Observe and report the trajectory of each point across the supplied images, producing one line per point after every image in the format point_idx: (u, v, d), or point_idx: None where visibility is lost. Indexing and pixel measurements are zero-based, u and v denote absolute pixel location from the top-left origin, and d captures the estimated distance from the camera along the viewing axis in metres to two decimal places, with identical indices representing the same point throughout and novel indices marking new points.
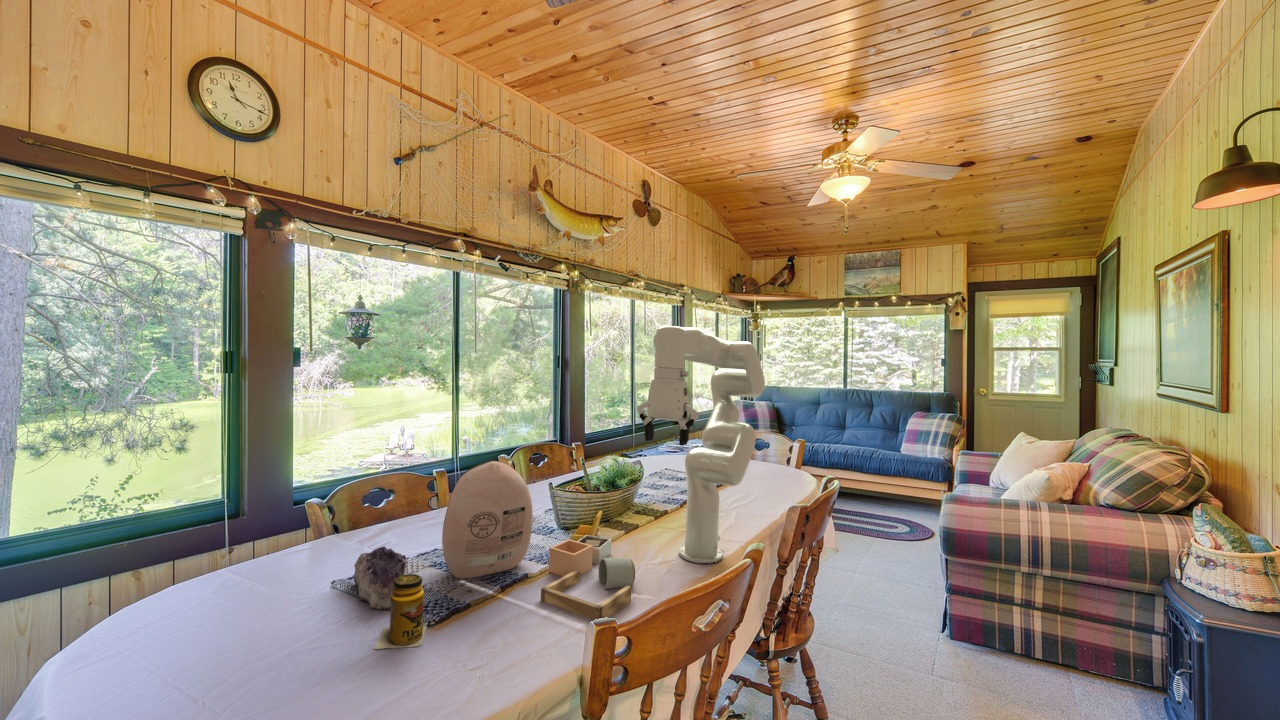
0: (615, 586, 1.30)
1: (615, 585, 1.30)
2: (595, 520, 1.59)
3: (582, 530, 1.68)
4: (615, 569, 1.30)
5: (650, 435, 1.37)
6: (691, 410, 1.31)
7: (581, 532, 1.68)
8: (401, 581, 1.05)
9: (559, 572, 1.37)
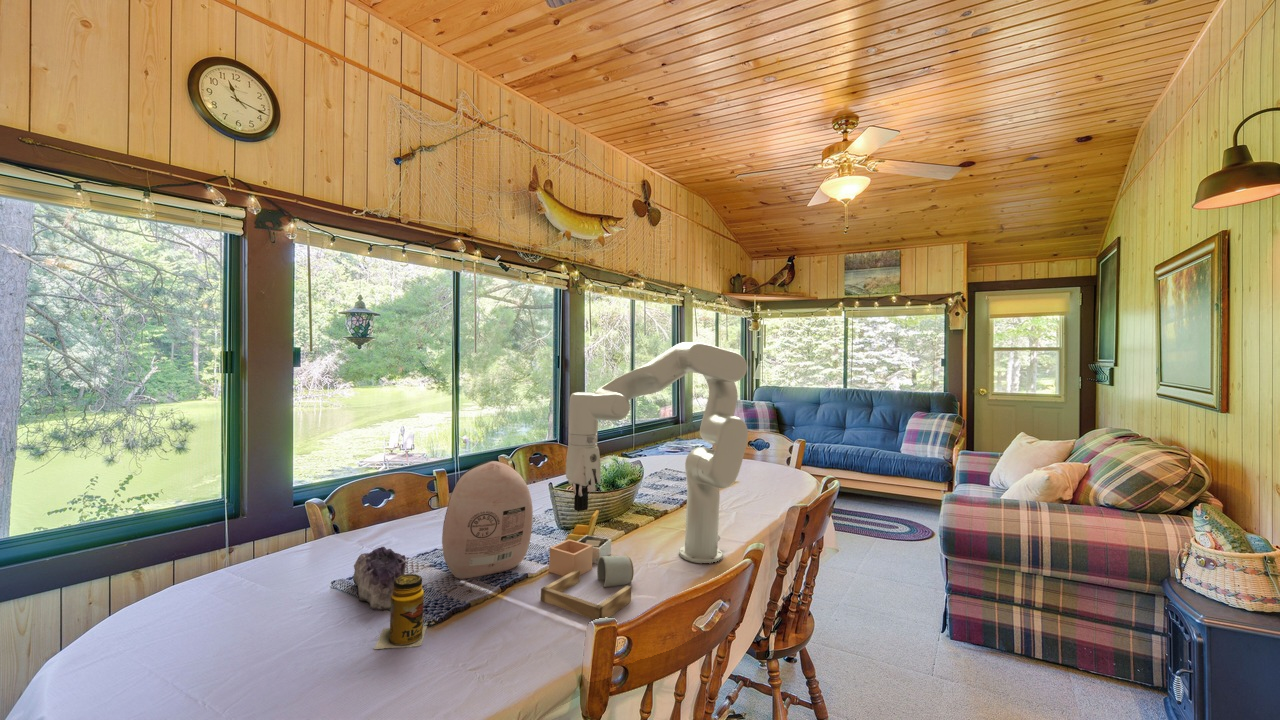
0: (613, 584, 1.31)
1: (613, 583, 1.31)
2: (591, 520, 1.59)
3: (578, 530, 1.69)
4: (613, 567, 1.31)
5: None
6: (590, 483, 1.35)
7: (578, 532, 1.69)
8: (401, 581, 1.05)
9: (559, 572, 1.37)
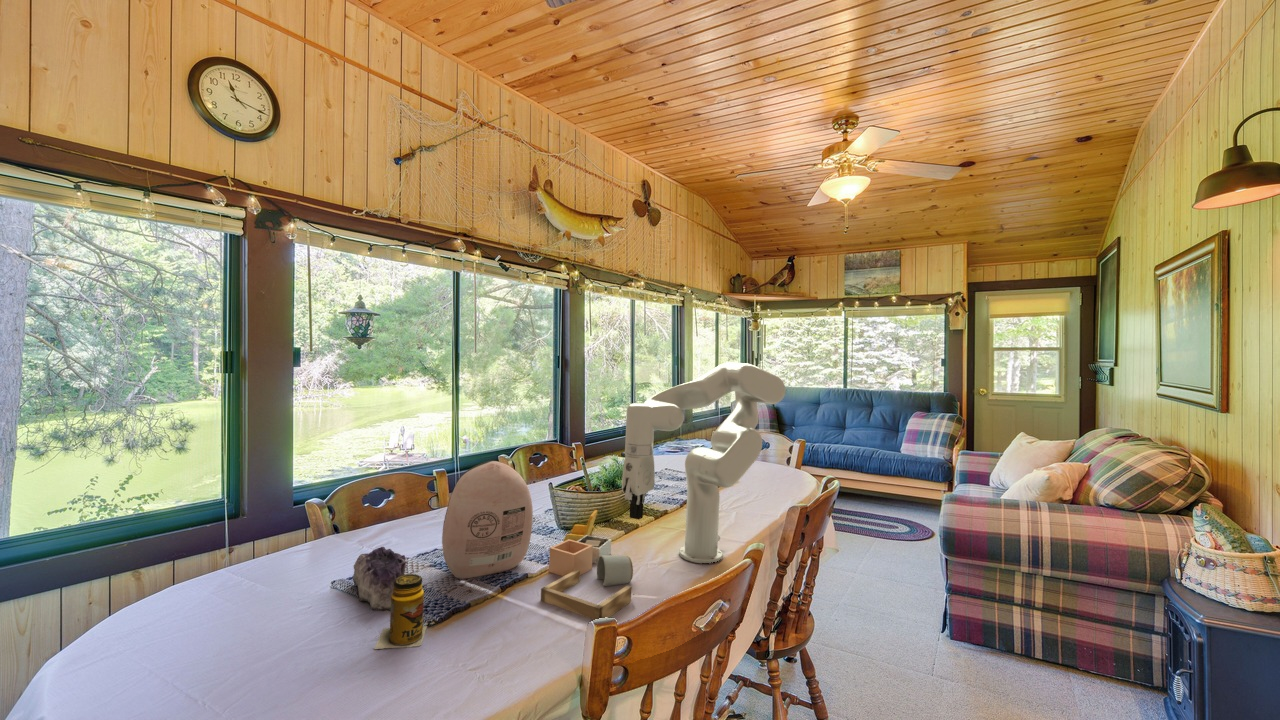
0: (613, 583, 1.32)
1: (612, 583, 1.32)
2: (590, 519, 1.59)
3: (577, 530, 1.69)
4: (613, 566, 1.32)
5: None
6: None
7: (576, 531, 1.69)
8: (401, 581, 1.05)
9: (559, 572, 1.37)
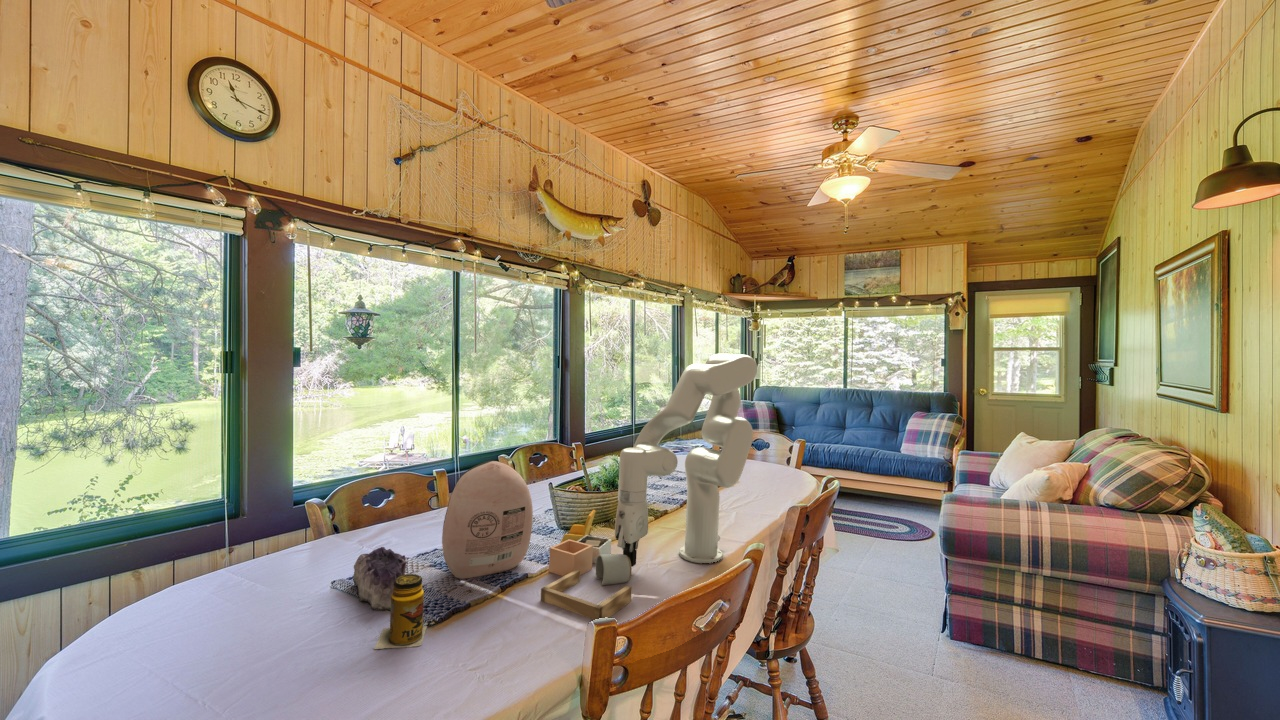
0: (611, 582, 1.32)
1: (611, 582, 1.32)
2: (587, 519, 1.59)
3: (575, 530, 1.69)
4: (611, 565, 1.32)
5: None
6: None
7: (574, 531, 1.69)
8: (401, 581, 1.05)
9: (559, 572, 1.37)
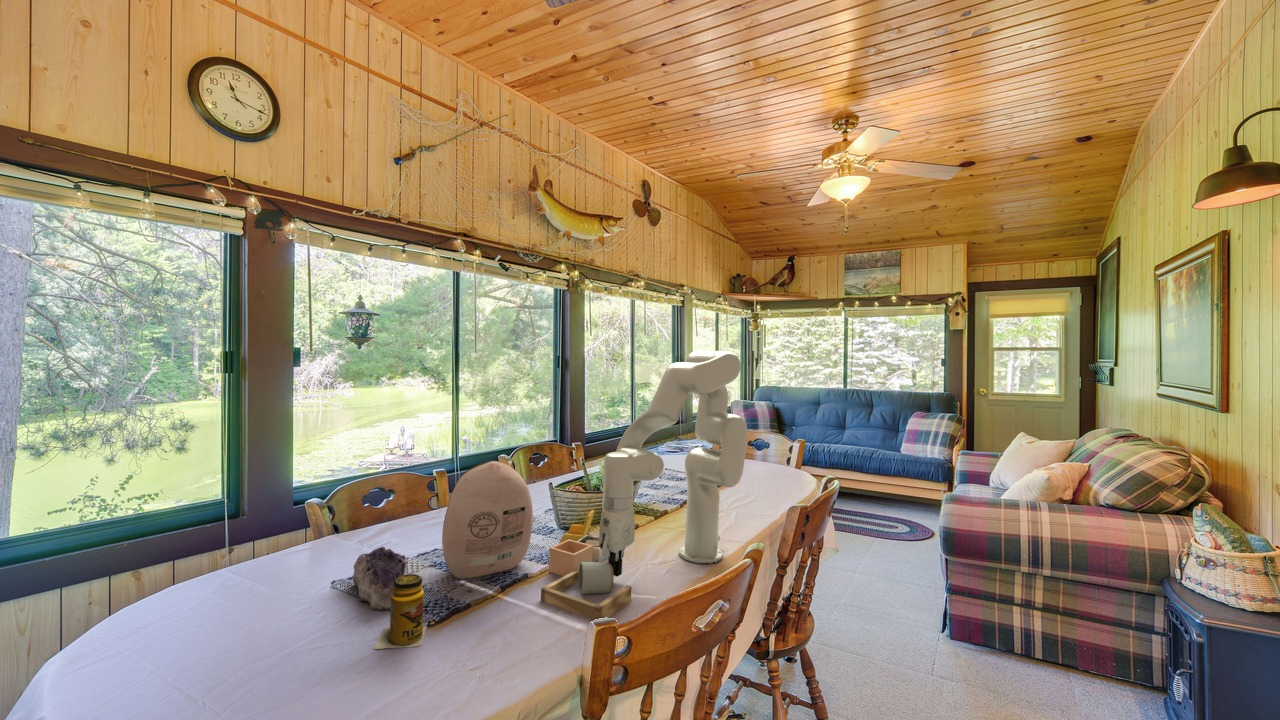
0: (592, 592, 1.26)
1: (591, 591, 1.26)
2: (586, 519, 1.59)
3: (574, 530, 1.69)
4: (591, 574, 1.26)
5: None
6: None
7: (573, 531, 1.69)
8: (401, 581, 1.05)
9: (559, 572, 1.37)
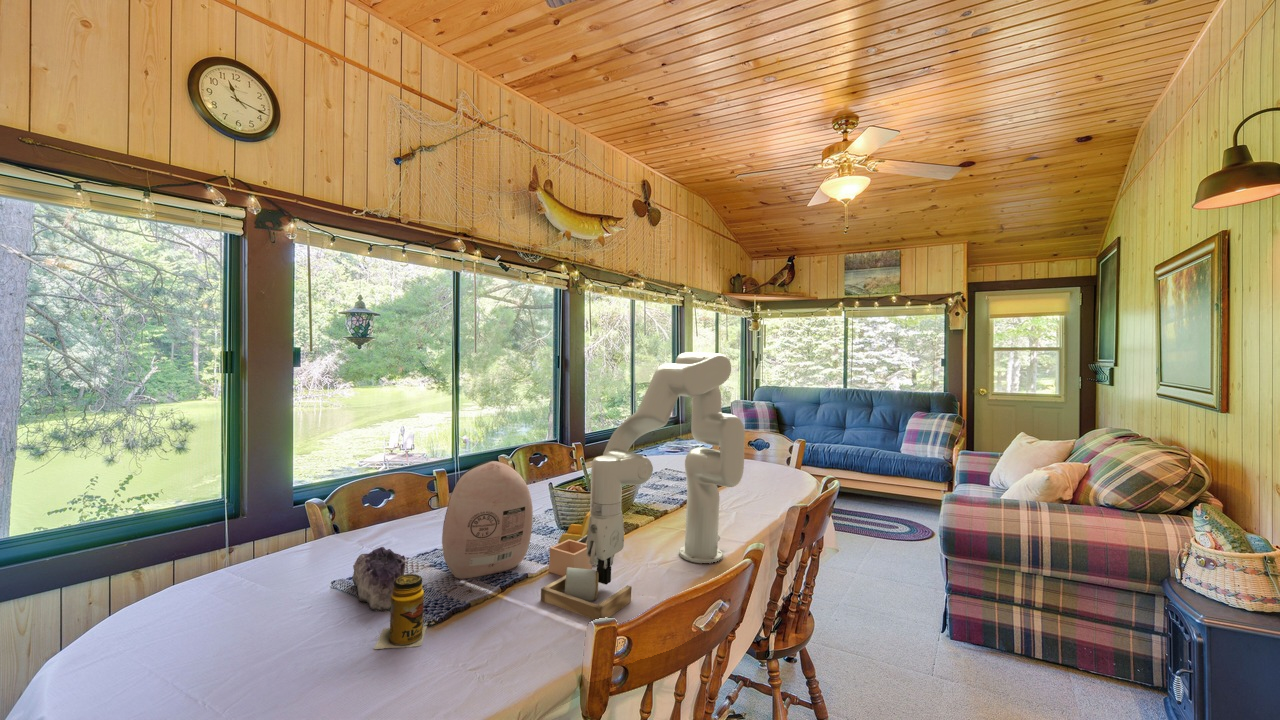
0: None
1: None
2: (585, 519, 1.60)
3: (573, 529, 1.69)
4: (575, 581, 1.22)
5: None
6: None
7: (572, 531, 1.69)
8: (401, 581, 1.05)
9: (559, 572, 1.37)
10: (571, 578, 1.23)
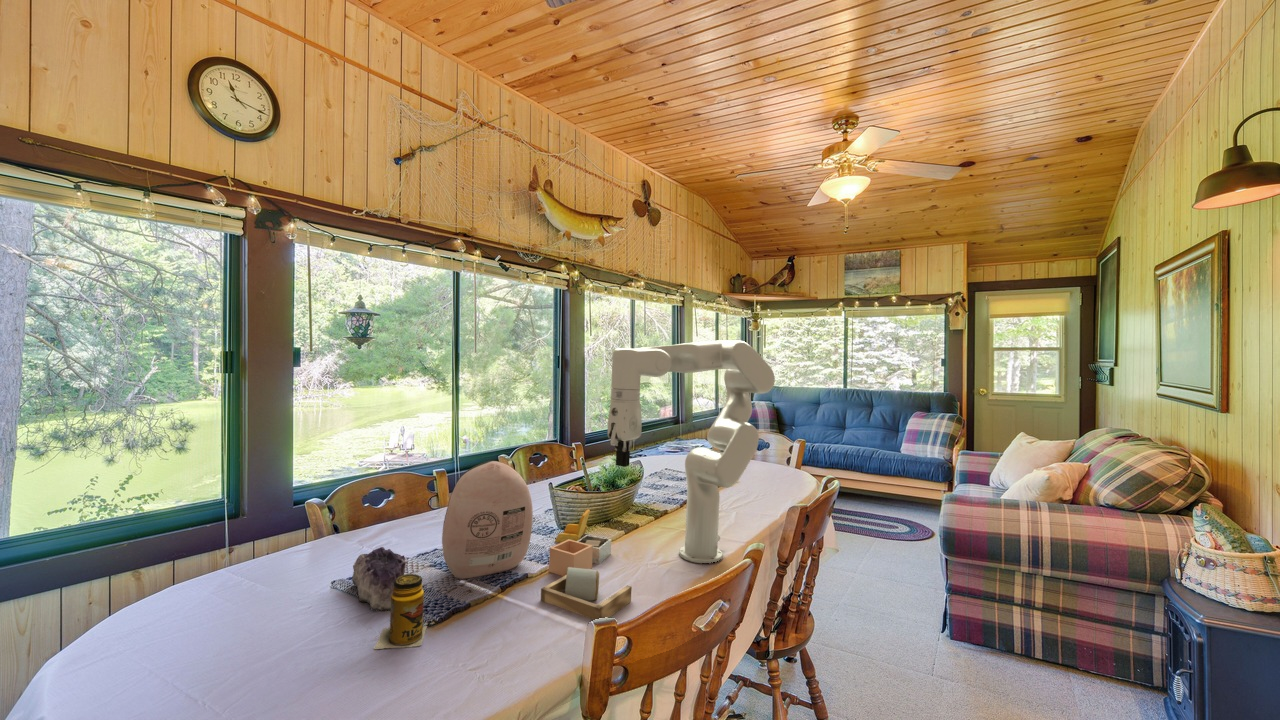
0: None
1: None
2: (581, 519, 1.60)
3: (570, 529, 1.69)
4: (575, 580, 1.23)
5: None
6: None
7: (569, 531, 1.69)
8: (401, 581, 1.05)
9: (559, 572, 1.37)
10: (572, 578, 1.23)
